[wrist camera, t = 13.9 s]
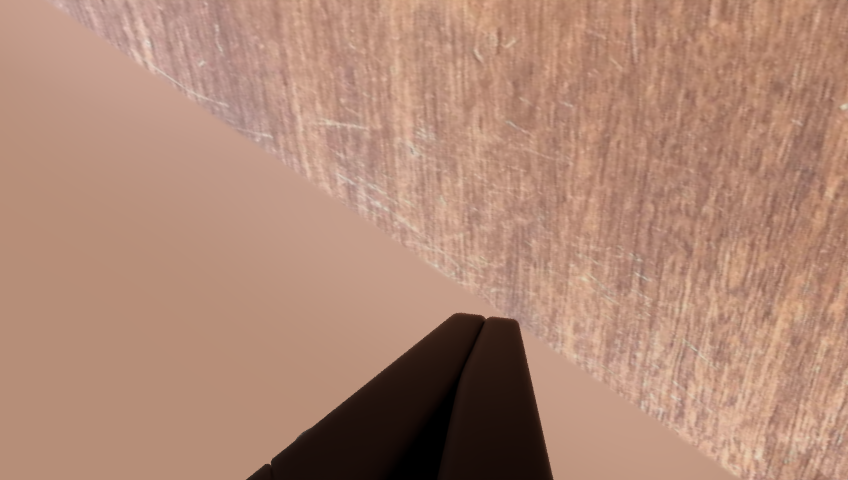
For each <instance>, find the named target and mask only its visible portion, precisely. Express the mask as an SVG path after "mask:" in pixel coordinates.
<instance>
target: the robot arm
mask: <svg viewBox="0 0 848 480" xmlns="http://www.w3.org/2000/svg"><path fill="white" fill-rule="evenodd" d="M246 480H553V476H552V472H551V467H550V462H549V458H548V453H547V449H546V444H545V440H544V435H543V431H542V426H541V422H540V418H539V413H538V408H537V404H536V399H535V395H534V391H533V386H532V381H531V377H530V372H529V368H528V363H527V359H526V354H525V349H524V345H523V340H522V337H521V331H520V327H519V323H518V322H517V321H516V320H515V319H508V318H500V317H489V318H487V319H485V318H484V317H483V316H482V315H475V314H474V315H473V314H466V313H456V314H453V315H452V316H451V317H449V318H448V319H447V320H446V321H444V322H443V323H442V324H441V325H439V326H438V327H437V328H436V329H434V330H433V331H432V332H431V333H430V334H428V335H427V336H426V337H424V338H423V339H422V340H421V341H419V342H418V343H417V344H416V345H414V346H413V347H412V348H411V349H409V350H408V351H407V352H406V353H404V354H403V355H402V356H401V357H399V358H398V359H397V360H396V361H394V362H393V363H392V364H391V365H389V366H388V367H387V368H386V369H384V370H383V371H382V372H381V373H379V374H378V375H377V376H376V377H374V378H373V379H372V380H371V381H369V382H368V383H367V384H366V385H364V386H363V387H362V388H361V389H359V390H358V391H357V392H356V393H354V394H353V395H352V396H351V397H349V398H348V399H347V400H346V401H344V402H343V403H342V404H341V405H340V406H338V407H337V408H336V409H334V410H333V411H332V412H331V413H329V414H328V415H327V416H326V417H324V418H323V419H322V420H321V421H319V422H318V423H317V424H316V425H314V426H313V427H312V428H311V429H309V430H308V431H307V432H306V433H304V434H303V435H302V436H301V437H299V438H298V439H297V440H296V441H294V442H293V443H292V444H291V445H289V446H288V447H287V448H286V449H284V450H283V451H282V452H281V453H279V454H278V455H277V456H276V457H274V458H273V459H272V461H271V465H270V464H265V465H264V466H263V467H262V468H260V469H259V470H258V471H256V472H255V473H254V474H253V475H251V476H250V477H249V478H248V479H246Z"/></svg>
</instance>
